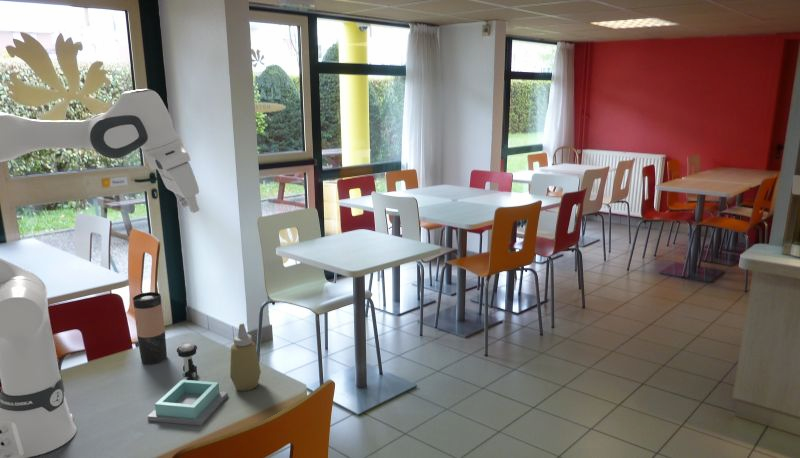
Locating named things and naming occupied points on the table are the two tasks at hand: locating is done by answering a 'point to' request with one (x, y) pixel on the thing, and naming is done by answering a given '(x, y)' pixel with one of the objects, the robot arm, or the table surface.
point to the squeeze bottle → (244, 361)
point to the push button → (188, 360)
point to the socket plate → (188, 403)
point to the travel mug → (150, 327)
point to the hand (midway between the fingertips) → (190, 208)
